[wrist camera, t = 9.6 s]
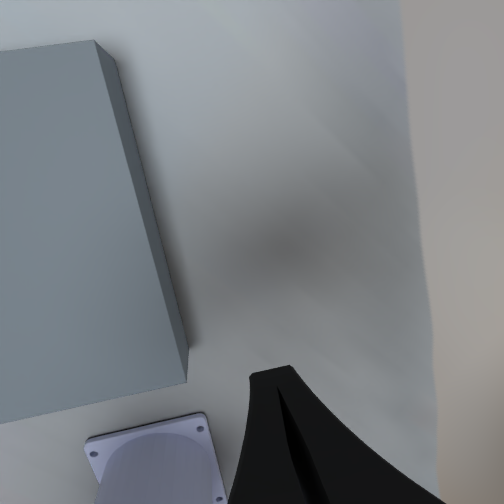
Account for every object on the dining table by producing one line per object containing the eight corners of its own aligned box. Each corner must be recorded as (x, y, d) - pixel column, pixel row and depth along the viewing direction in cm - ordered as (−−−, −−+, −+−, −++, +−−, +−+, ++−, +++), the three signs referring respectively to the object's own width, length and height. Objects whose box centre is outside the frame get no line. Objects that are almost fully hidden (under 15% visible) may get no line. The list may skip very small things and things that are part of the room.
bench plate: (189, 349, 20) (186, 382, 17) (-49, 400, 19) (-93, 444, 16) (114, 59, 15) (93, 39, 12) (-224, 104, 14) (-336, 93, 11)
